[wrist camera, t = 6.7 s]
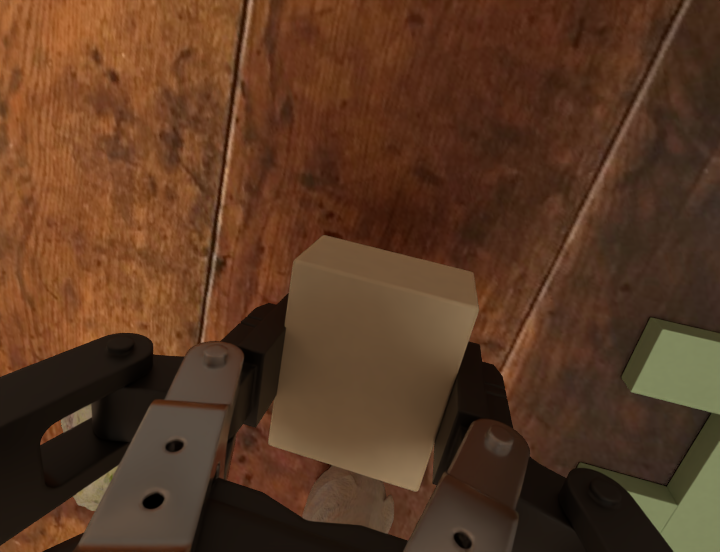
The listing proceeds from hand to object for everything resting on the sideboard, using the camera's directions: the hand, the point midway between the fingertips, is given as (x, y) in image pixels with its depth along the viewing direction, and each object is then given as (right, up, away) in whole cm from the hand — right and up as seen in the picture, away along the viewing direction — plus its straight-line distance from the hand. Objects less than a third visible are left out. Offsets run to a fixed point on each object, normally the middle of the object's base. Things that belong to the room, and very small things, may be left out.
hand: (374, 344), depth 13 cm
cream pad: (0, 0, 0) cm, 0 cm away
